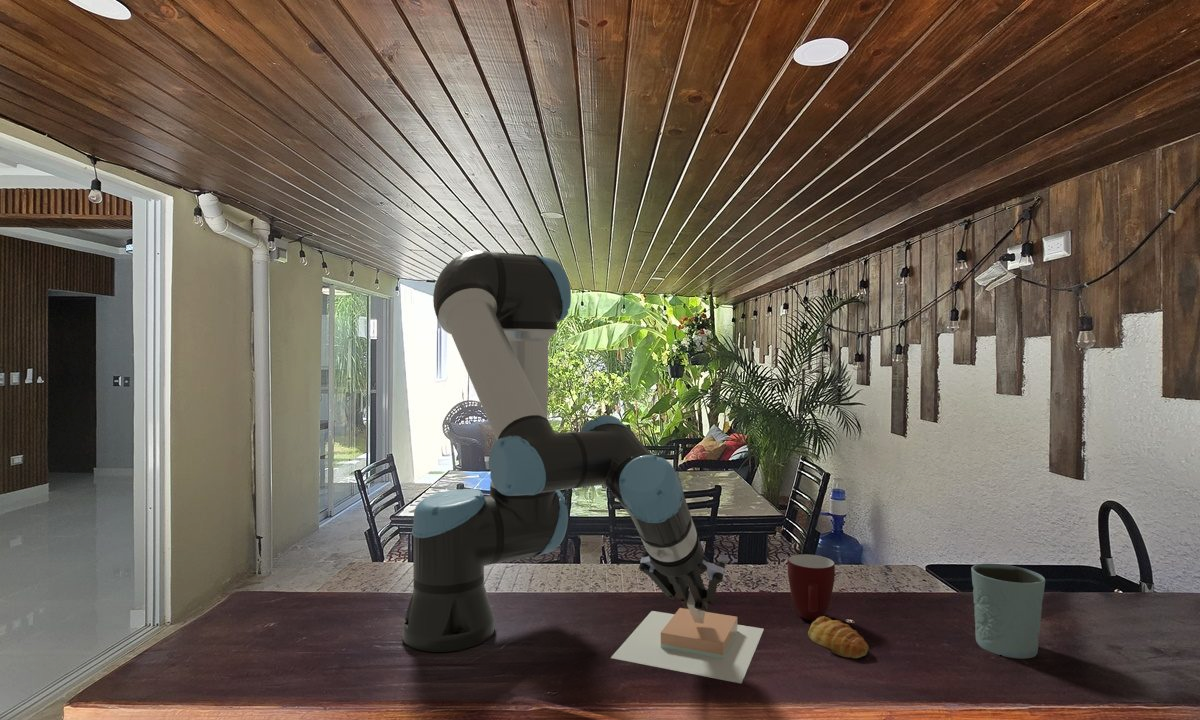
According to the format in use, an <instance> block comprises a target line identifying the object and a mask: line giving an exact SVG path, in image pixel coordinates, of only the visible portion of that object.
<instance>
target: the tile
mask: <svg viewBox="0 0 1200 720" xmlns="http://www.w3.org/2000/svg"><path fill="white" fill-rule="evenodd" d="M674 614H675V615H674V616H673V617H672V619H671V620H670V621H669V622H668V624H667V625H666V626H665V628H664V629H663V630H662V631H661V648H666V649H671V650H677V651H682V652H688V653H693V654H699V655H704V656H710V657H715V658H721V659H723V658H724V656H725V654H726V652H727V650H728V648H729V646H730V645H731V643H732V641H733V639H734V637H735V635H736V633H737V625H738V616H734V615H727V614H722V613H716V612H709V611H705V616H704V622H703V624H702V623H696V622H694V620H693V618H692V616H691V613H690V611H689V609H687V608H685V607H684V608H682V607H679V608H678V610H677V611H676V612H675V613H674Z"/></svg>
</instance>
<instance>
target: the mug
mask: <svg viewBox="0 0 1200 720" xmlns="http://www.w3.org/2000/svg"><path fill="white" fill-rule="evenodd" d="M835 568H836V567H835V561H833V560H832V559H830V558H828V557H825V556H823V555H822V556H821V555H816V554H806V553H805V554H793V555H791V556H789V557H788V558H787V579H788V583H789V590H790V595H791V600H792V603H793V605H794V608H795V610H796V611H797V613H798V616H799V617H800V618H802V619H804V620H808V621H812V622H814V621H815V620H816V619H817V618H819V617H822V616H825V615H826V613H827V611H828V610H829V607H830V606H831V600H832V594H833V589H834V584H835V578H836V572H835V571H836V569H835Z"/></svg>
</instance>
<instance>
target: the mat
mask: <svg viewBox="0 0 1200 720" xmlns="http://www.w3.org/2000/svg"><path fill="white" fill-rule="evenodd" d="M674 615H675V613H674V614H673V613H669V612H661V611H654V610H651V611H650V612H649V613H648V615H647V616H646V617H645V618H644V619H643V620H642V621H641V622H640V624H639V625H638V626H637V627H636V628H635V629H634V630H633V632H632V633H630V635H629V636H628V637H627V638H626V639H625V641H624V642H623V643H622V644H621V645H620V647H618V649H616V651H615V652H614V653H613V654H612V655H611V657H610V659H613V660H618V661H624V662H629V663H634V664H639V665H645V666H650V667H654V668H659V669H665V670H670V671H673V672H674V671H675V672H679V673H680V672H681V673H685V674H692V675H695V676H700V677H706V678H710V679H711V678H712V679H716V680H721V681H727V682H732V683H737V684H740V685H741V684H743V680H744V679H745V676H746V673H747V671H748V670H749V666H750V665H751V662H752V659H753V657H754V654H755V652H756V649H757V647H758V645H759V642H760V640H761V637H762V635H763V633H764V630H765V629H764V628H762V627H761V628H760V627H755V626H747V625H742V624H737V633H736V635H735V637H734V639H733V641H732V643H731V645H730V646H729V648H728V650H727V652H726V654H725V656H724V658H723V659H721V658H715V657H710V656H704V655H699V654H693V653H688V652H682V651H677V650H671V649H666V648H661V631H662V630H663V629H664V628H665V626H666V625H667V624H668V622H669V621H670V620H671V619H672V617H673V616H674Z"/></svg>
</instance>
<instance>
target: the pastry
mask: <svg viewBox="0 0 1200 720" xmlns="http://www.w3.org/2000/svg"><path fill="white" fill-rule="evenodd" d="M807 636H808V638H809V639H810V640H811V641H812V642H813V643H815V644H816V645H819V646H820V647H824V648H825V649H828V650H830V653H832V654H835V655H837V656H840V657H843V658H851V659H859V658H862V657H864V656H866V655H867V654H868V652H869V649H870V648H869V644H868V643H867V642H866V641H865V639H864V636H862V635H860V634H859V632H858V631H857V630H854V629H853V628H852V627H851V626H850V625H849V624H847V623H843V622H842V621H841V620H838V619H835V620H833V619H831V618H830V617H828V616H825V615H824V616H822V617H819V618H817V619H816V620H815V621H812V622H811V625H810V627H809V629H808V632H807Z"/></svg>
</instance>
